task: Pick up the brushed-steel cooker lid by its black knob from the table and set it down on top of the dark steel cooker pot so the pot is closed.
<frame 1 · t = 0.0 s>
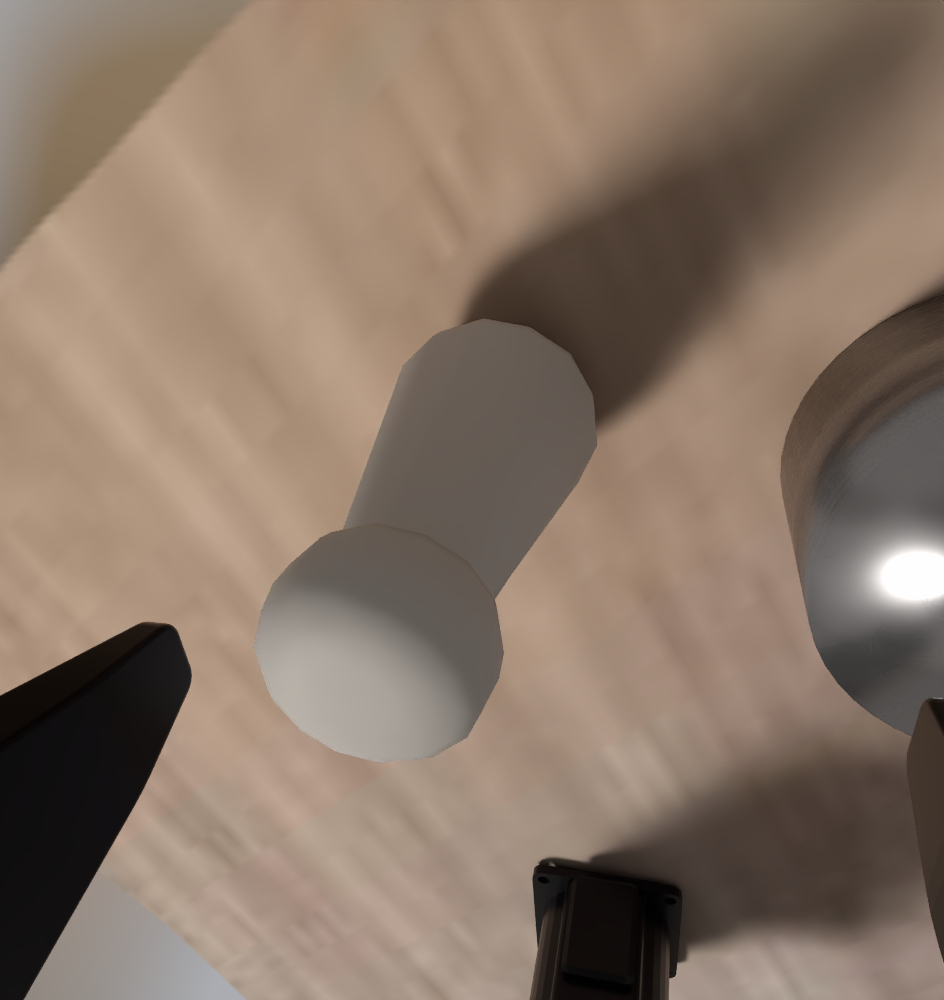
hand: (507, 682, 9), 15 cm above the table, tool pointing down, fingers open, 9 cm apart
salt shaker: (509, 388, 24), on the table
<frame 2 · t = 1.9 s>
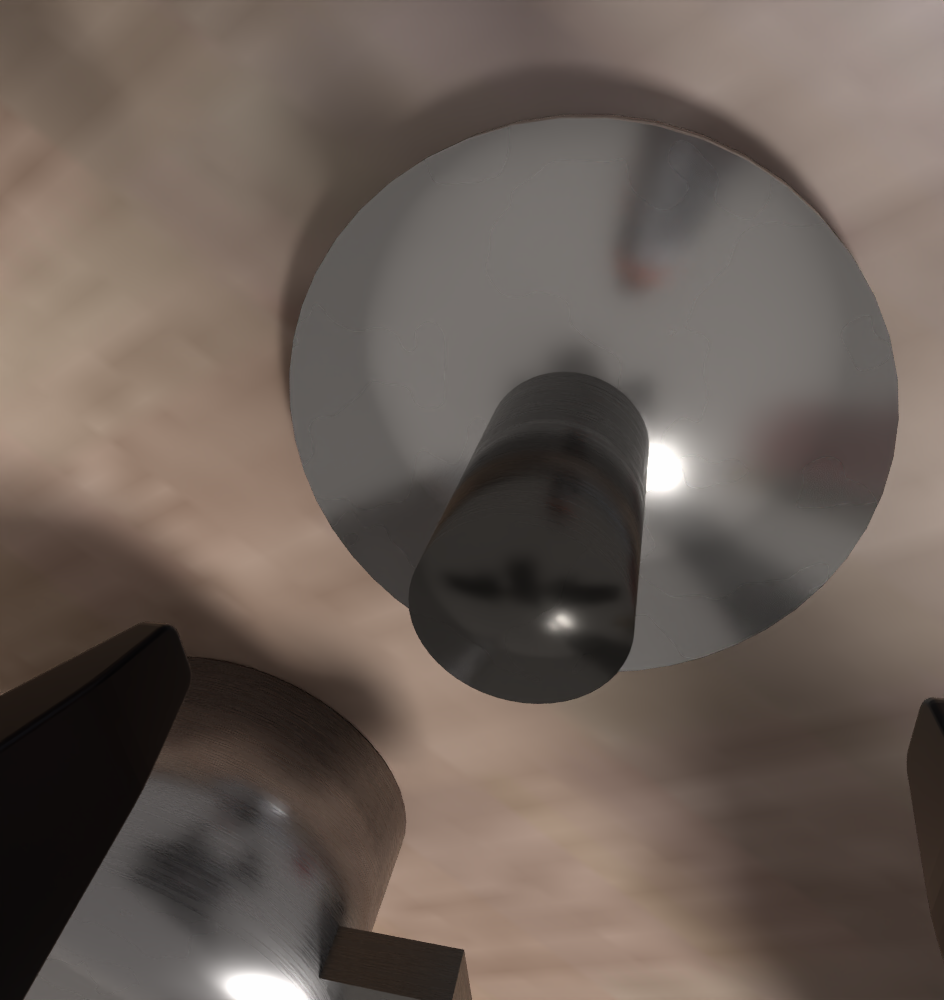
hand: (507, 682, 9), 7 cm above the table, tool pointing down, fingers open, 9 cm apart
cooker lid: (572, 425, 15), on the table
cooker pot: (247, 783, 23), on the table
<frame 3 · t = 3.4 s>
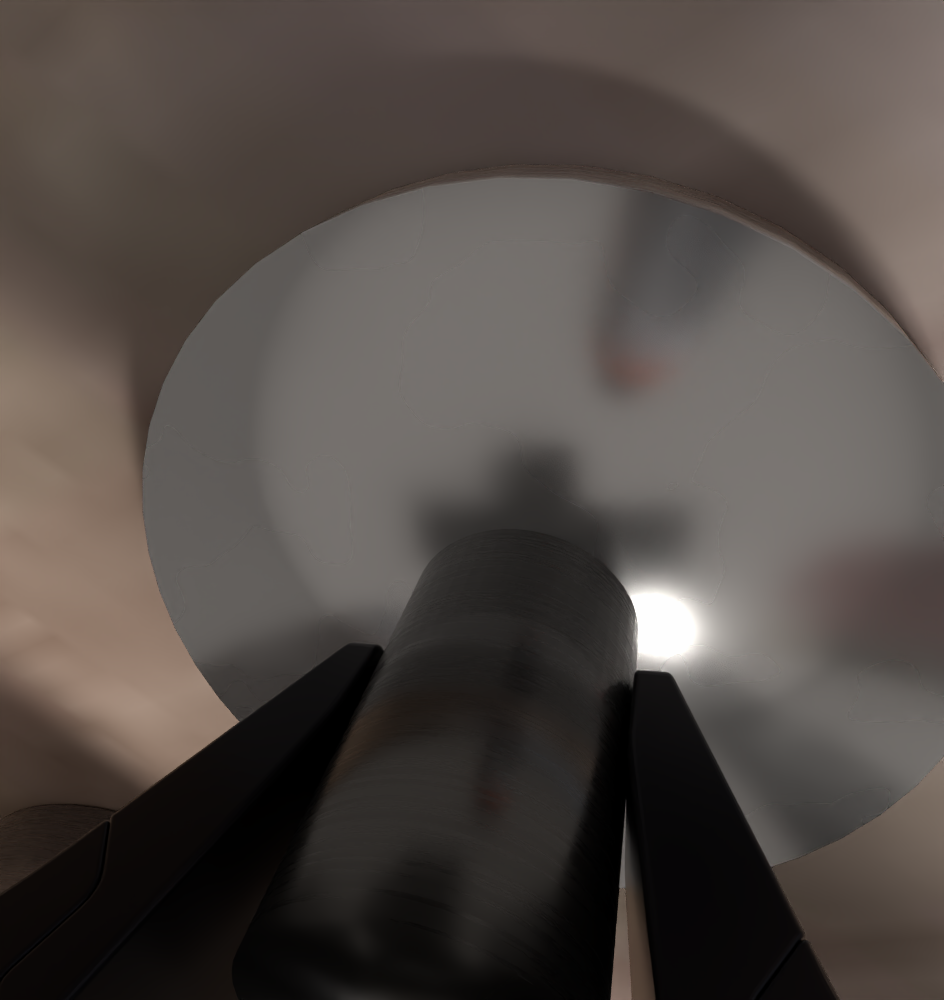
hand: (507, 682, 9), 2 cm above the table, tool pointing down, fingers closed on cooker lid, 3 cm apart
cooker lid: (535, 580, 11), on the table, touching gripper
cooker pot: (163, 939, 19), on the table
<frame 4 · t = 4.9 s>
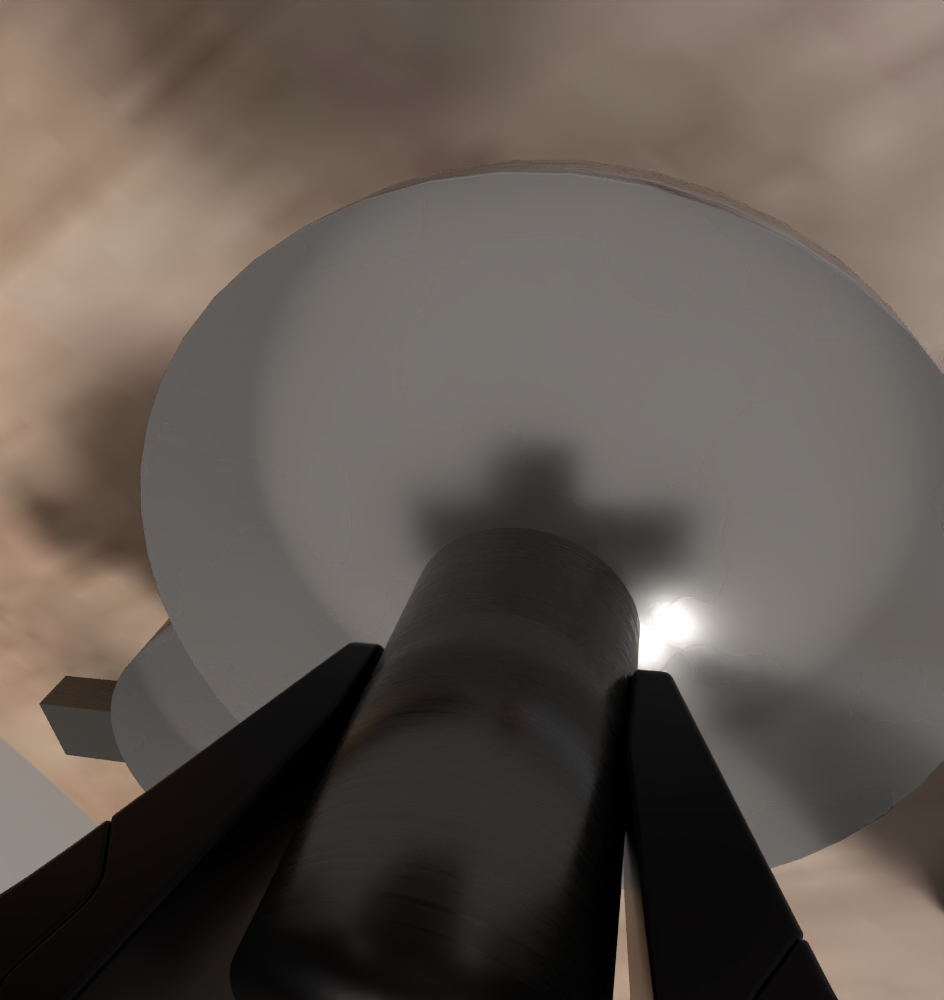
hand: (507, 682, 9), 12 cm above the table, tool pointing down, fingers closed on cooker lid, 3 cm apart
cooker lid: (535, 579, 11), point 10 cm above the table, touching gripper
cooker pot: (353, 633, 26), on the table
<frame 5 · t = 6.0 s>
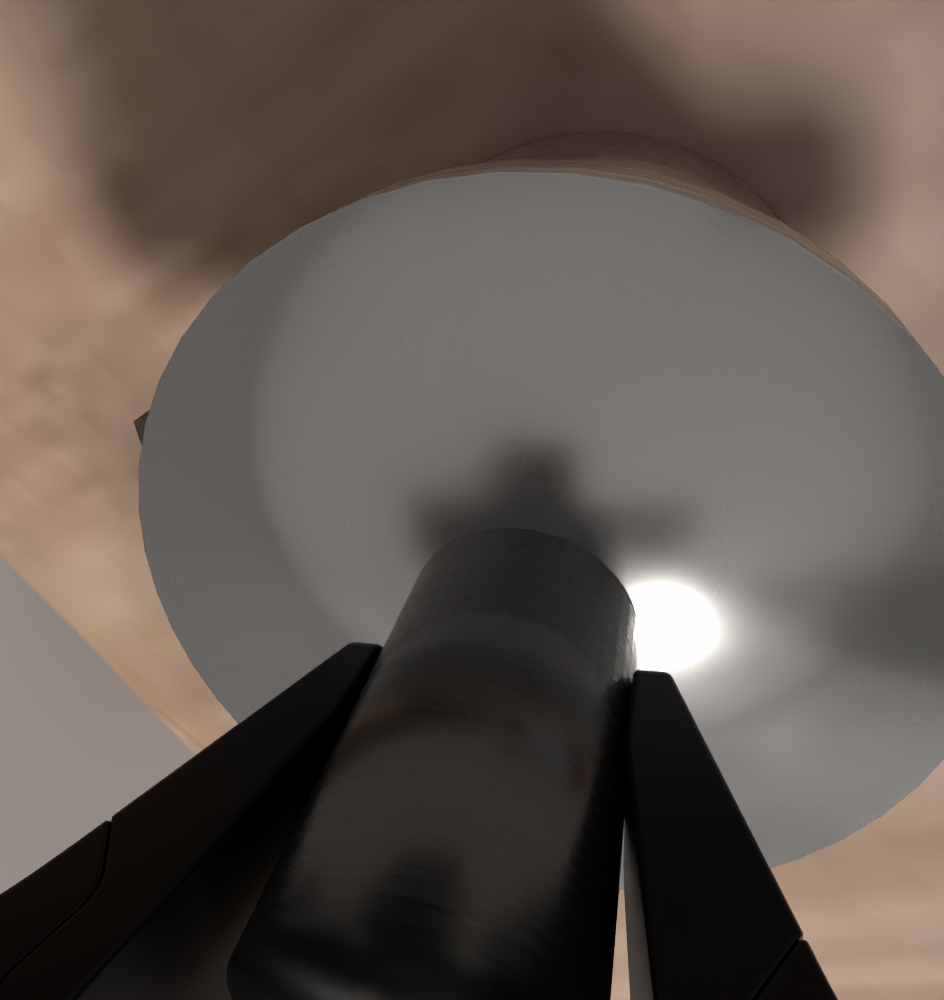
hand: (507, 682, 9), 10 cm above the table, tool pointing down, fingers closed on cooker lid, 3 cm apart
cooker lid: (534, 579, 11), point 8 cm above the table, touching gripper
cooker pot: (585, 372, 18), on the table
when the fingers open (9 cm above the table, at t = 6.7 s): cooker lid drops 1 cm, resting on cooker pot.
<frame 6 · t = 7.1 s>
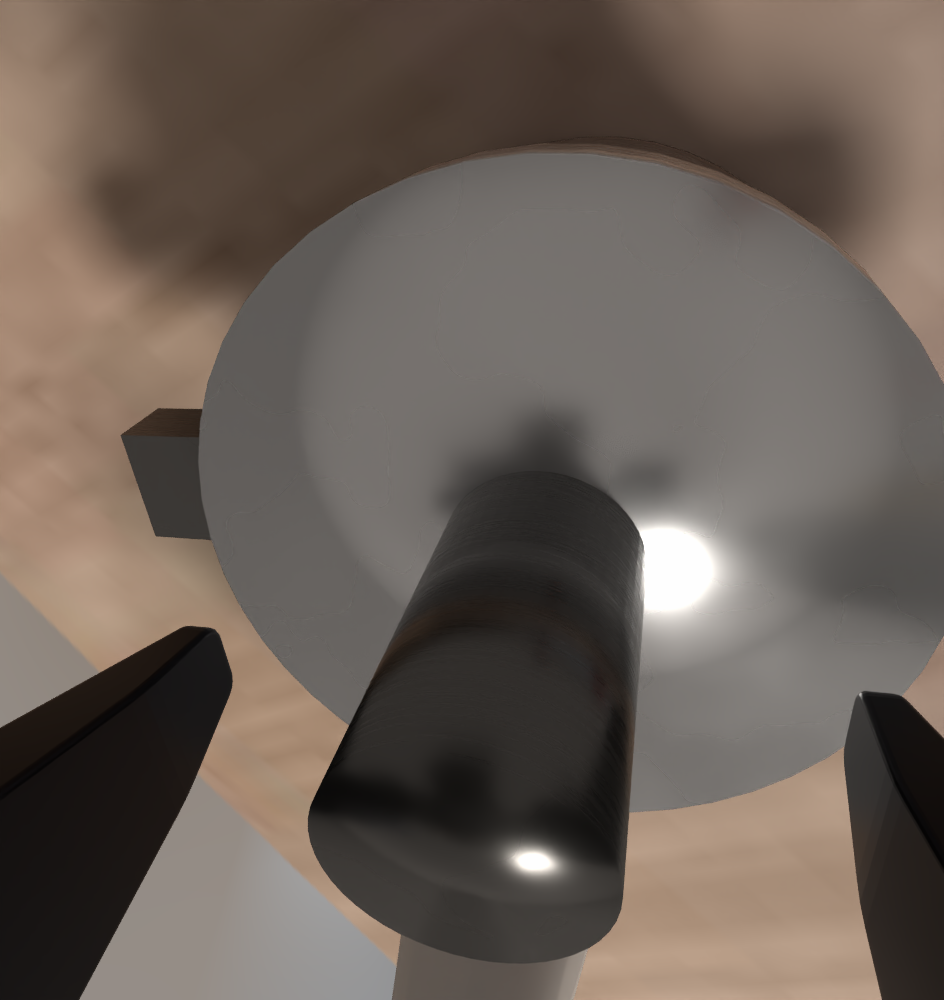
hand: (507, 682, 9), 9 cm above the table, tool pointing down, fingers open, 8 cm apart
salt shaker: (528, 764, 24), on the table
cooker lid: (552, 524, 12), point 6 cm above the table, touching cooker pot
cooker pot: (587, 383, 17), on the table
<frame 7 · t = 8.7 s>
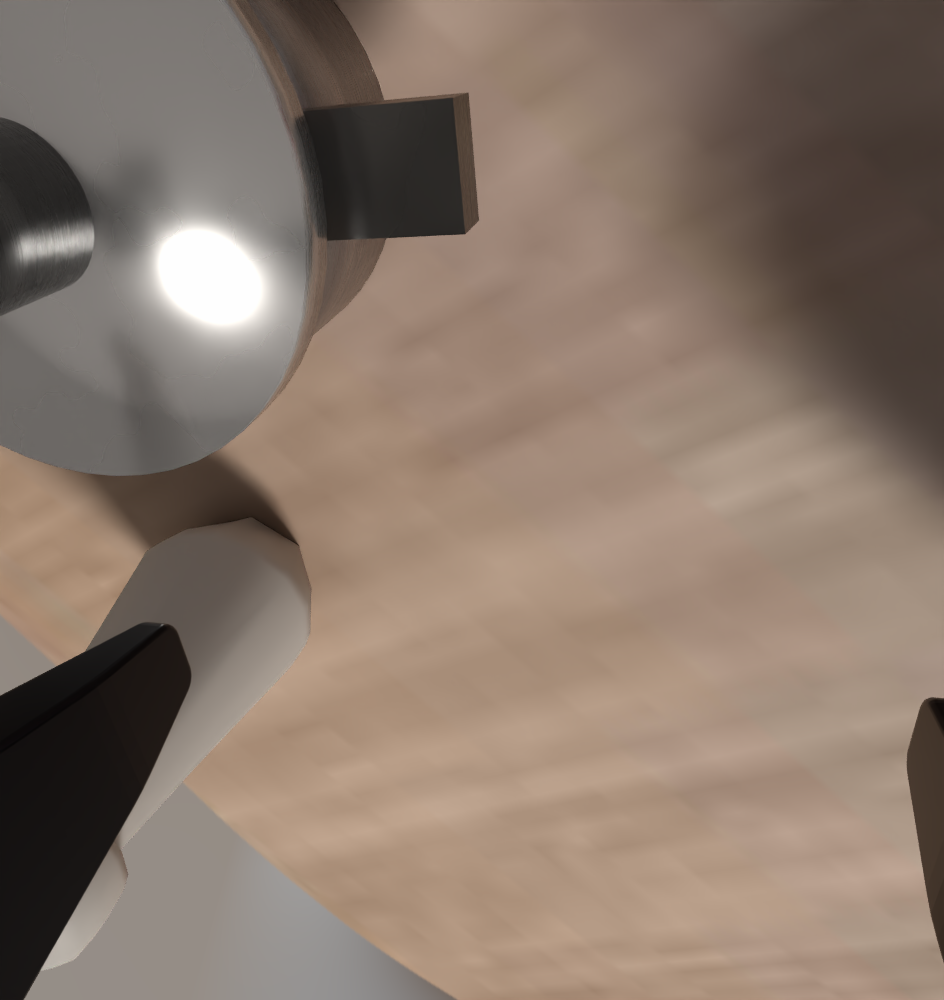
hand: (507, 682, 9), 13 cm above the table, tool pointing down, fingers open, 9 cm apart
salt shaker: (257, 562, 27), on the table
cooker lid: (54, 198, 15), point 6 cm above the table, touching cooker pot
cooker pot: (207, 156, 20), on the table
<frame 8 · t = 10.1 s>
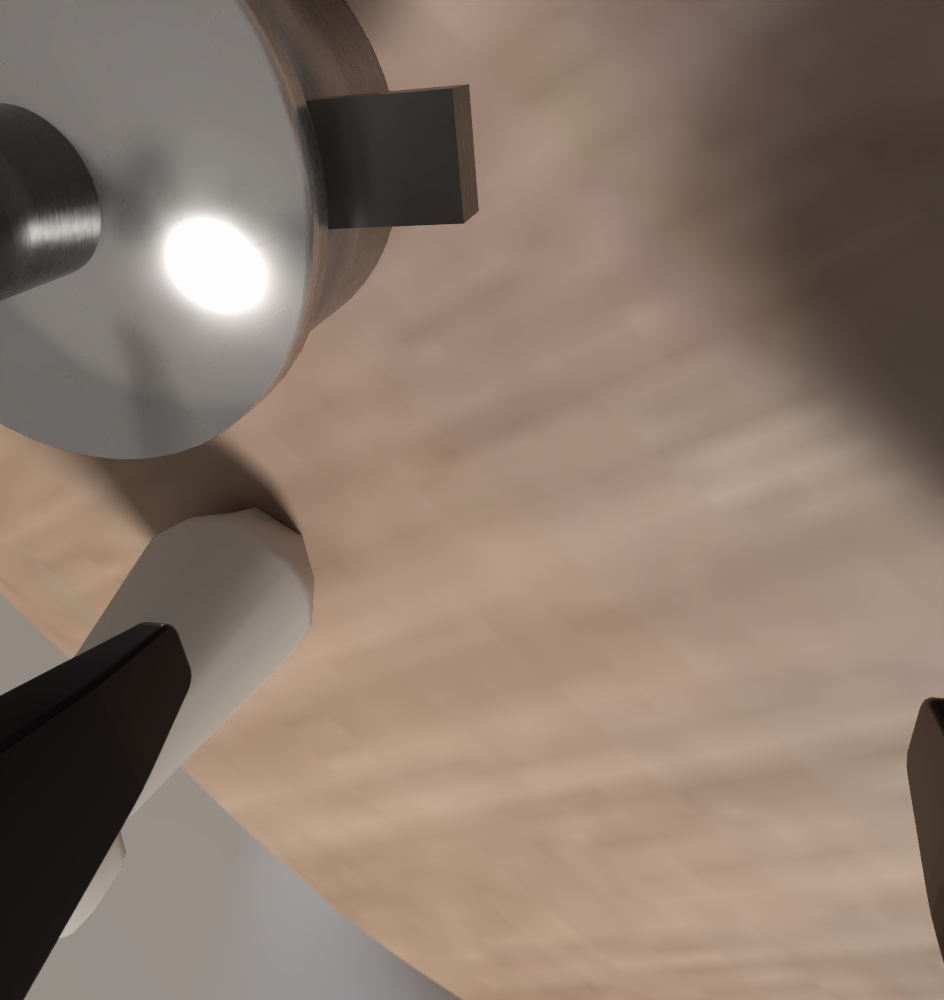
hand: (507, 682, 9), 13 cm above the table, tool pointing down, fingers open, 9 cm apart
salt shaker: (261, 553, 27), on the table
cooker lid: (63, 185, 15), point 6 cm above the table, touching cooker pot
cooker pot: (216, 149, 20), on the table
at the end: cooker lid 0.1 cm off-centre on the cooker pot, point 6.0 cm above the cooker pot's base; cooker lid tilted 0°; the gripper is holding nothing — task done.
